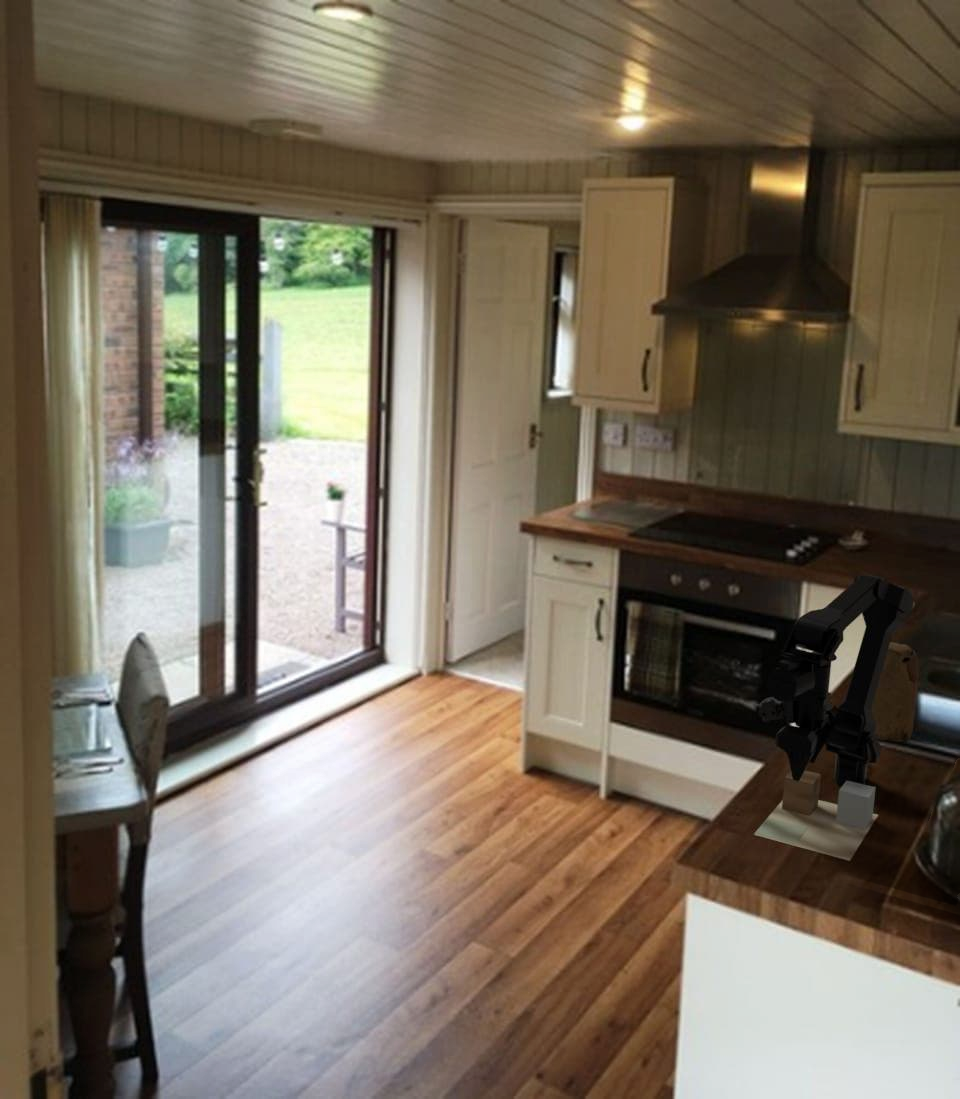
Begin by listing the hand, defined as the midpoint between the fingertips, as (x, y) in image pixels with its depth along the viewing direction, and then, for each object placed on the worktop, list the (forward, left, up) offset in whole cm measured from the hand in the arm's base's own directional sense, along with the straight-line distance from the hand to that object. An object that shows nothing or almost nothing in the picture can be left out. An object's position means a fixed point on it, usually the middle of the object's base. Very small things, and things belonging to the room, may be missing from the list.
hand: (803, 771), depth 201 cm
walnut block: (0, 0, -7) cm, 7 cm away
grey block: (0, +9, -7) cm, 12 cm away
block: (-47, +4, -8) cm, 48 cm away
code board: (+5, +4, -8) cm, 10 cm away
